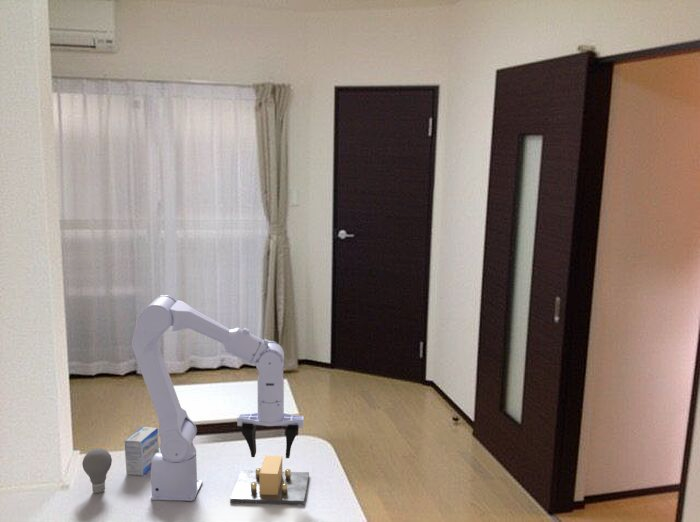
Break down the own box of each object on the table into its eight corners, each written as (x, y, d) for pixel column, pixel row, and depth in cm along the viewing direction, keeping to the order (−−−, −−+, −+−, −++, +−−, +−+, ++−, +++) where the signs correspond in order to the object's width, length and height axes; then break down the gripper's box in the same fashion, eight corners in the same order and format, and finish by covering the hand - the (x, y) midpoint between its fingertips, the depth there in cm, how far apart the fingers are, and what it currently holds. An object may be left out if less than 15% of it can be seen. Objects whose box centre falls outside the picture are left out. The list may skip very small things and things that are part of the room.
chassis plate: (230, 502, 134) (230, 490, 134) (241, 474, 146) (241, 462, 146) (303, 505, 134) (304, 492, 134) (308, 476, 146) (309, 464, 145)
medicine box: (143, 477, 145) (141, 442, 143) (125, 474, 145) (123, 440, 144) (159, 460, 152) (158, 427, 151) (143, 458, 153) (141, 425, 152)
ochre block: (259, 494, 136) (259, 473, 135) (265, 475, 144) (265, 455, 143) (277, 494, 136) (277, 473, 135) (282, 476, 144) (282, 455, 143)
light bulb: (106, 481, 142) (104, 440, 140) (117, 491, 138) (115, 450, 136) (79, 491, 138) (77, 449, 136) (90, 502, 134) (88, 459, 132)
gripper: (305, 392, 140) (304, 448, 143) (241, 390, 140) (242, 446, 143) (302, 404, 133) (301, 463, 136) (234, 402, 134) (235, 461, 136)
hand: (270, 455), depth 139 cm, fingers open, 7 cm apart
